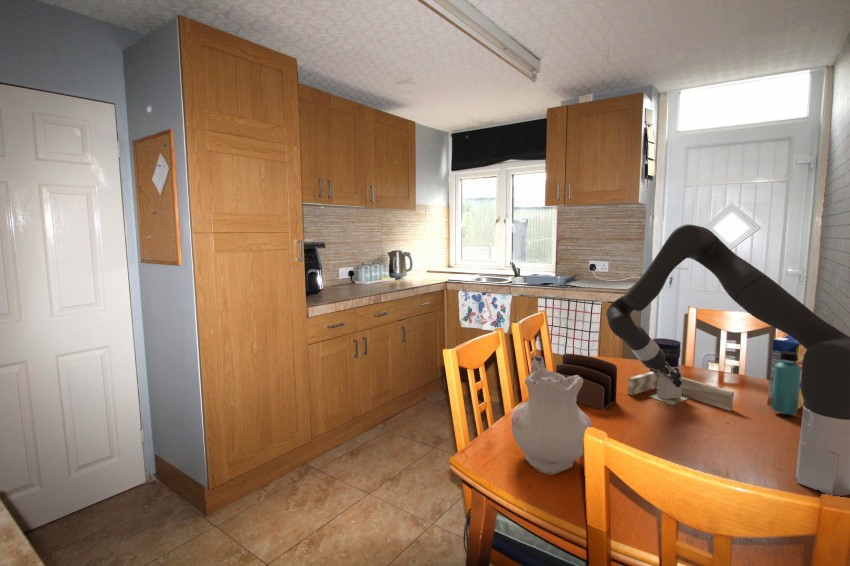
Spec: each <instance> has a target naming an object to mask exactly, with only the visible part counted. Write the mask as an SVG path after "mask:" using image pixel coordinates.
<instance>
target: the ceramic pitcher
mask: <svg viewBox="0 0 850 566" xmlns="http://www.w3.org/2000/svg"><path fill="white" fill-rule="evenodd" d="M532 358H533V359H532V362H531V366H530V367H531V368H530V373H529V375H528V376H527V377H526V378H525V379H524V384H525V385H526V388H527V391H528V398H527V400H526V402H523V403H522V404H520V405H519V406H518V407H516V408H515V409H514V411H513V413H512V415H511V416H512V417H511V431H512V432H511V433H512V436H513V439H514V440H515V441H514V442H515V443H516V444H517V446H518V448H519V449H520V450H521V452H523V453H524V454H525V455H524V456H523V457H524V458H525V460H526V461H527V463H528V464H530V466H532V467H533V468H534V469H535V470H536V471H537V472H539V473H542V474H545V475H547V476H549V475H550V476H551V475H557V474H558V473H561V472H564V471H567V470H569V469H571V468H573V467H574V463H575V462H574V461H576V460H578V459H579V458H580V457H582V456H583V455H584V454H585V453H583V437H584V431H585V429H586V428H587V427H593V424H592V422H591V420H590V419H591V418H590V417H589V416H588V415H587V414H586V413H585V412H584V411H583V410H582V409H581V408H580V407H579V406H578V403H576V398H577V394H578V392H579V390H580V388H581V387H582V384H583V379H582V378H581V377H579V375H574V376H570V377H567V378H565V377H564V376H563V375H561V374H559V373H556V371H550V370H548V369H547V368H546V366H545V360H544V357H543V356H541V355H538V354H535V353H534V355H532Z"/></svg>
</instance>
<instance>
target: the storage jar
mask: <svg viewBox="0 0 850 566" xmlns="http://www.w3.org/2000/svg"><path fill="white" fill-rule="evenodd" d="M652 339H653V340H654V341H655V343H656V344H657V345H658V346H659V347H660V348H661V350H662V351H663V352H664V353H665V361H666V362H667V363H668V364H669V365H670V366H671V367H672V368H674V367H679V364H680V363H679V362H680V357H681V346H682V345H681V344H682V343H681V342H680V341H679V340H676V339H671V338H660V337H659V338H652ZM649 372H652V371H651V370H650V369H649Z"/></svg>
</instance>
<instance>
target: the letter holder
mask: <svg viewBox="0 0 850 566" xmlns="http://www.w3.org/2000/svg"><path fill="white" fill-rule="evenodd" d="M555 372H556V373H559V374H561V375H563V376H564V377H565V378H567V377H570V376H574V375H579V377H581V378H582V379H583V384H582V387H581V388H580V390H579V392H578V394H577V398H576V402H578V403H577V404H579V403H581V404H580V405H583V404H584V405H583V406H586V405H588V406H587V407H589V406H591V407H590V408H592V407H594V409H595V410H600V411H602V410H603V411H605V410H606V409H608V408H609V407H611V406H613V405H614V404H616V403H617V387H618V386H617V385H618V384H617V381H618V367H617V365H616V364H614V363H612V362H610V361H607V360H603V359H600V358H596V357H592V356H588V355H583V354H577V353H563V354H562V363H557V364H556V365H555Z"/></svg>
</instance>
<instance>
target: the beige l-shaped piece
mask: <svg viewBox="0 0 850 566" xmlns="http://www.w3.org/2000/svg"><path fill="white" fill-rule="evenodd" d="M658 377H659V375H658V374H657V373H656V374H655V373H654V372H653V371H652V372H650V371H649V372H645V373H640V374H638V375H634V376H630V377H628V383H627V395H628V394H630V395H629V396H631V395H633V396H635V395H634V394H636V395H638V394H637V393H640V394H642V393H641V392H643V393H645V392H644V391H646V392H648V391H647V390H649V391H651V390H650V389H652V390H654V389H653V388H656V387H657V380H658ZM681 377H682V394H681V397H680V398H672V399H663V398H661V397H659V396H657V393H656V394H655V393H654V394H653V395H649V396H648V398H650V397H652V398H651V399H653V398H654V400H656V399H657V400H656V401H659V400H660V402H662V401H663V402H662V403H664V402H666V403H665V404H667V403H669V404H668V405H670V404H671V405H670V406H673V404H674V405H676V403H677V404H679V403H682V402H685V401H687V399H688V400H690V399H691V398H692V400H694V399H695V401H698V402H701V403H703V404H708V405H710V406H713V407H717V408H719V409H723V410H726V411H729V412H730V411H733V407H734V394H735V392H734V391H732V390H731V389H730V390H728V389H726V388H722V387H719V386H715V385H711V384H708V383H704V382H701V381H697V380H694V379H691V378H686V377H683V376H681ZM656 389H657V388H656ZM682 395H683V396H682ZM685 396H686V397H685ZM688 397H689V398H688ZM684 400H685V401H684ZM681 401H682V402H681ZM678 402H679V403H678Z"/></svg>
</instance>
